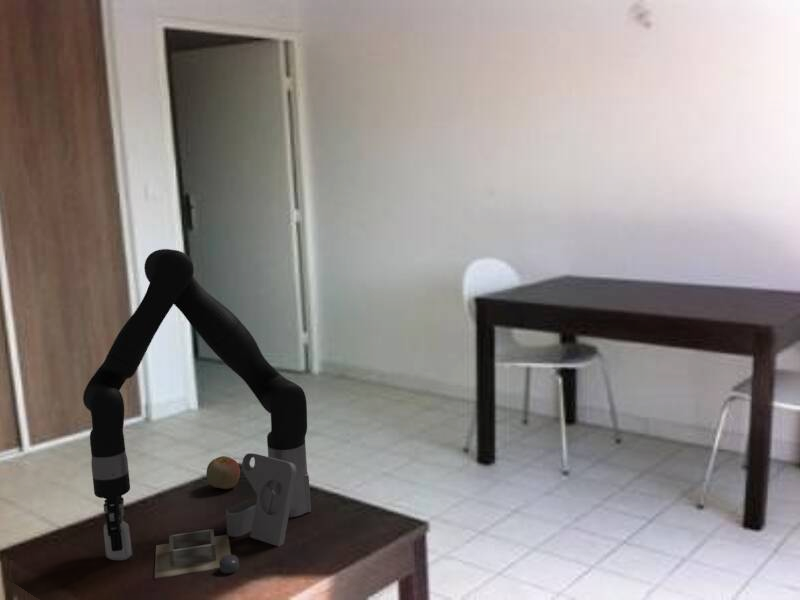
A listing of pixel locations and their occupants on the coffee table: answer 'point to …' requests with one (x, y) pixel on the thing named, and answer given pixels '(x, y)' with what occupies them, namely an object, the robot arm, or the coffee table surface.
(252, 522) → the phone holder
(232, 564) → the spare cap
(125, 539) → the eye dropper bottle
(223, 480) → the apple
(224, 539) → the glass box on tray
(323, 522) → the coffee table surface
